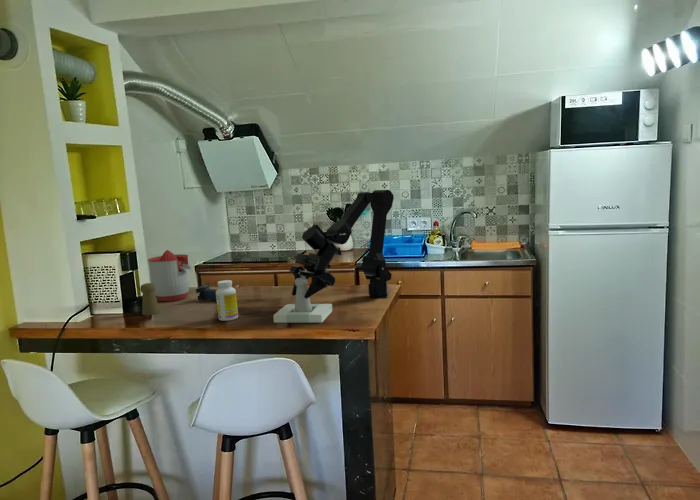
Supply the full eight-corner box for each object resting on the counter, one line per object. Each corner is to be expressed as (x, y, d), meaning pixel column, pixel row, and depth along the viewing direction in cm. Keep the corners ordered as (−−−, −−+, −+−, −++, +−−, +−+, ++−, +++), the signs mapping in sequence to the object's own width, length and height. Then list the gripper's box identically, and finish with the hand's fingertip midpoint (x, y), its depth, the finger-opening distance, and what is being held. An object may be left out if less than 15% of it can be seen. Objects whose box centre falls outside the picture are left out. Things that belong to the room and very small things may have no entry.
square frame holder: (332, 310, 187) (331, 303, 187) (321, 322, 173) (321, 314, 173) (287, 311, 190) (287, 304, 190) (273, 322, 177) (273, 315, 176)
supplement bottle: (242, 316, 187) (238, 279, 185) (231, 321, 181) (228, 283, 179) (225, 315, 190) (221, 279, 188) (214, 321, 183) (210, 283, 182)
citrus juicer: (179, 304, 212) (173, 253, 209) (143, 302, 218) (137, 253, 215) (204, 294, 226) (199, 246, 223) (170, 293, 233) (164, 247, 230)
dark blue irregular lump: (197, 306, 213) (224, 308, 209) (194, 287, 211) (220, 290, 207) (210, 296, 221) (236, 298, 217) (207, 278, 219) (233, 280, 214)
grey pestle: (309, 319, 178) (307, 279, 177) (293, 319, 180) (289, 280, 178) (314, 314, 184) (311, 276, 182) (298, 314, 185) (295, 276, 183)
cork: (143, 316, 196) (139, 286, 195) (141, 312, 202) (137, 283, 200) (160, 313, 199) (157, 283, 197) (158, 310, 204) (154, 281, 203)
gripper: (291, 242, 188) (267, 279, 182) (325, 245, 174) (300, 286, 168) (311, 261, 194) (288, 297, 189) (346, 266, 180) (322, 305, 175)
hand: (299, 296), depth 180 cm, fingers open, 7 cm apart
